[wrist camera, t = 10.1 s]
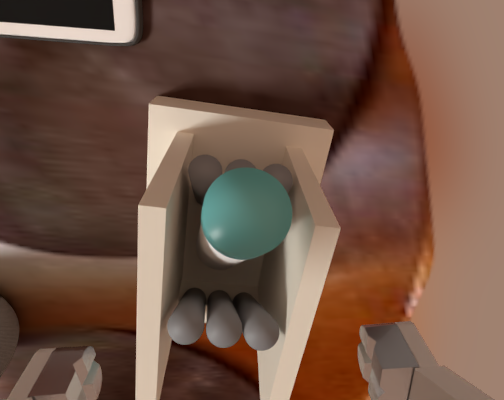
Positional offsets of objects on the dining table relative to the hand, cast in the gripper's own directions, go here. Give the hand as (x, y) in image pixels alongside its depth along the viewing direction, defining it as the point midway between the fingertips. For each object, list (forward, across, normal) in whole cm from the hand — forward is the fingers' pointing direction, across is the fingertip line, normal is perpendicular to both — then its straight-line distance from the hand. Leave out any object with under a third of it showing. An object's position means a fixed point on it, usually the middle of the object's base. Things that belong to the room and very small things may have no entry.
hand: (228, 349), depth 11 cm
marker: (+12, +1, +4) cm, 13 cm away
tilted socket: (+16, 0, +3) cm, 16 cm away
